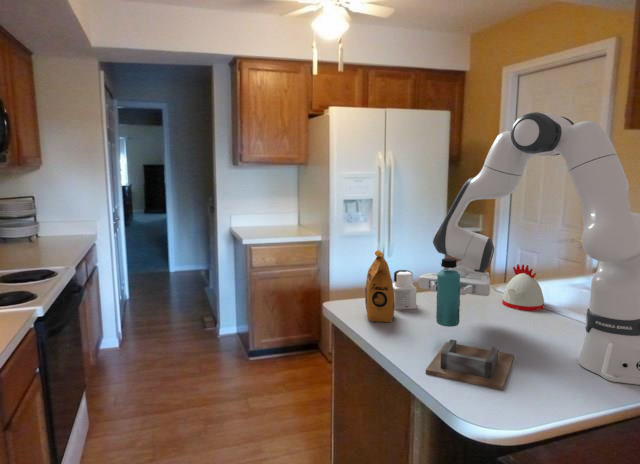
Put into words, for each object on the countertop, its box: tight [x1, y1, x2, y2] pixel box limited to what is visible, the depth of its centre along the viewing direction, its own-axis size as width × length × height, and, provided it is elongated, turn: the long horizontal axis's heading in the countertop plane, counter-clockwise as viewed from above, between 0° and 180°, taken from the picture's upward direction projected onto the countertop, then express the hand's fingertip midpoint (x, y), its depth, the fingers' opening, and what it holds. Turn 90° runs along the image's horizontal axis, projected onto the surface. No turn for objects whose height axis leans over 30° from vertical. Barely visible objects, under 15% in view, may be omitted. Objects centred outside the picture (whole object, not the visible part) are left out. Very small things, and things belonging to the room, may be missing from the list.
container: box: [392, 269, 417, 310], centre depth 167 cm, size 8×8×13 cm
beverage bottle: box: [435, 257, 461, 328], centre depth 130 cm, size 6×7×20 cm
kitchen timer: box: [501, 263, 545, 312], centre depth 168 cm, size 14×14×15 cm
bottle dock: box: [425, 339, 515, 391], centre depth 119 cm, size 18×20×5 cm
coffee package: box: [364, 249, 395, 323], centre depth 155 cm, size 10×12×22 cm
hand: (447, 290), depth 129 cm, fingers closed on beverage bottle, 6 cm apart
